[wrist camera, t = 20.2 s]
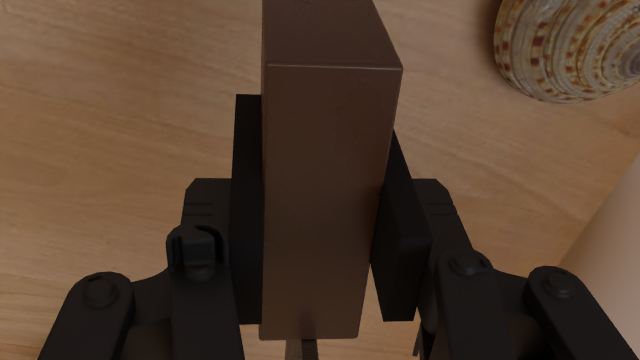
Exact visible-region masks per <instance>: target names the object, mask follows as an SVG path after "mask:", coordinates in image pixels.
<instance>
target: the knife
mask: <svg viewBox="0 0 640 360" xmlns="http://www.w3.org/2000/svg"><path fill="white" fill-rule="evenodd" d="M402 74H403V65H402V63H401V61H400V59H399V57H398V55H397V53H396V50H395V48H394V46H393V44H392V42H391V40H390V37H389V35H388V33H387V31H386V29H385V27H384V25H383V22H382V20H381V18H380V16H379V14H378V12H377V9H376V7H375V5H374V3H373V1H372V0H262V45H261V148H262V182H263V222H264V253H263V296H262V324H259V339H260V340H286V351H285V360H319V357H318V348H317V339H353V338H357V336H358V332H359V326H360V320H361V314H362V308H363V302H364V296H365V291H366V285H367V279H368V273H369V267H370V261H371V255H372V249H373V243H374V237H375V231H376V225H377V219H378V214H379V208H380V202H381V196H382V190H383V184H384V179H385V173H386V168H387V162H388V156H389V150H390V144H391V138H392V132H393V127H394V121H395V115H396V109H397V103H398V97H399V91H400V86H401V80H402Z"/></svg>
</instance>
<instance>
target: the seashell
mask: <svg viewBox="0 0 640 360" xmlns="http://www.w3.org/2000/svg"><path fill="white" fill-rule="evenodd" d="M494 55H495V60H496V63H497V66H498V68H499V70H500V72H501V74H502V75H503V76H504V78H505V79H506V80H507V82H508V83H509V84H510V85H511V86H512V87H514V88H515V89H516V90H518V91H519V92H521V93H523V94H525V95H527V96H529V97H532V98H534V99H536V100H539V101H543V102H548V103H558V104H566V103H579V102H585V101H590V100H594V99H597V98H600V97H603V96H606V95H609V94H612V93H615V92H618V91H621V90H623V89H625V88H628V87H630V86H632V85H633V84H636V83H637V82H639V81H640V0H503V1H502V4H501V6H500V9H499V12H498V15H497V19H496V24H495V30H494Z"/></svg>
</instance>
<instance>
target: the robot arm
mask: <svg viewBox="0 0 640 360" xmlns="http://www.w3.org/2000/svg"><path fill="white" fill-rule="evenodd" d="M166 253H167V262H168V267H167V268H166V269H165V270H164V271H162V272H161V273H159V274H157V275H155V276H152V277H149V278H147V279H143V280H139V281H135V282H130V280H129V279H128V278H127V277H125V276H124V275H122V274H120V273H115V272H98V273H94V274H92V275H89V276H86V277H84V278H83V279H81V280H80V281H78V282H77V283H75V284H74V286H73V287H72V288H71V290H70V291H69V292H68V295H67V297H66V299H65V301H64V303H63V305H62V307H61V310H60V312H59V314H58V316H57V318H56V320H55V322H54V325H53V327H52V329H51V331H50V333H49V335H48V337H47V340H46V342H45V344H44V346H43V348H42V350H41V352H40V355H39V357H38V359H37V360H245V357H244V351H243V345H242V339H241V333H240V327H239V325H245V324H262V296H263V253H264V222H263V182H262V148H261V95H249V94H236V106H235V124H234V142H233V160H232V178H195V179H194V181H193V182H192V183H191V184H190V185H189V187H188V188H187V189H186V192H185V198H184V206H183V211H182V218H181V224H180V225H179V226H178V227H176V228H174V229H173V230H172V231H171V232H170V233H169V235H168V236H167V240H166ZM370 264H371V268H372V273H373V277H374V282H375V286H376V291H377V295H378V300H379V304H380V309H381V313H382V318H383V322H388V321H413V320H414V316H415V312H416V308H417V307H418V311H419V314H420V318H421V323H420V327H419V331H418V334H417V338H416V342H415V346H414V350H413V356H417V355H418V351H419V355H420V360H639V359H638V358H637V356H636V355H635V353H634V352H633V351H632V349H631V348H630V347H629V345H628V344H627V342H626V341H625V340H624V338H623V337H622V336H621V334H620V333H619V331H618V330H617V329H616V327H615V326H614V324H613V323H612V322H611V321H610V319H609V318H608V316H607V315H606V313H605V312H604V311H603V309H602V308H601V307H600V305H599V304H598V302H597V301H596V300H595V298H594V297H593V296H592V294H591V293H590V291H589V290H588V289H587V287H586V286H585V285H584V284H583V282H582V281H581V280H580V279H579V278H578V277H577V276H575V275H574V274H572V273H570V272H568V271H567V270H564V269H561V268H558V267H555V266H541V267H537V268H535V269H534V270H533V271H532V272H530V274H529V276H528V278H525V277H521V276H516V275H512V274H508V273H504V272H501V271H498V270H496V269H494V268H493V266H492V265H491V263H490V261H489V260H488V259H487V258H486V257H485V256H484V255H483V254H482V253H480V252H478V251H476V250H474V249H473V247H472V245H471V243H470V240H469V238H468V236H467V234H466V231H465V229H464V227H463V224H462V222H461V220H460V217H459V215H457V210H456V208H455V206H454V205H453V201H452V199H451V197H450V194H449V192H448V190H447V189H446V188H445V187H444V186H443V185H442V184H441V183H440V182H439V181H437V180H436V179H412V178H411V175H410V172H409V170H408V167H407V164H406V161H405V158H404V156H403V153H402V150H401V147H400V145H399V142H398V139H397V136H396V134H395V131H394V128H393V132H392V138H391V144H390V150H389V156H388V162H387V168H386V173H385V179H384V184H383V190H382V196H381V202H380V208H379V214H378V219H377V225H376V231H375V237H374V243H373V249H372V255H371V261H370Z"/></svg>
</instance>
